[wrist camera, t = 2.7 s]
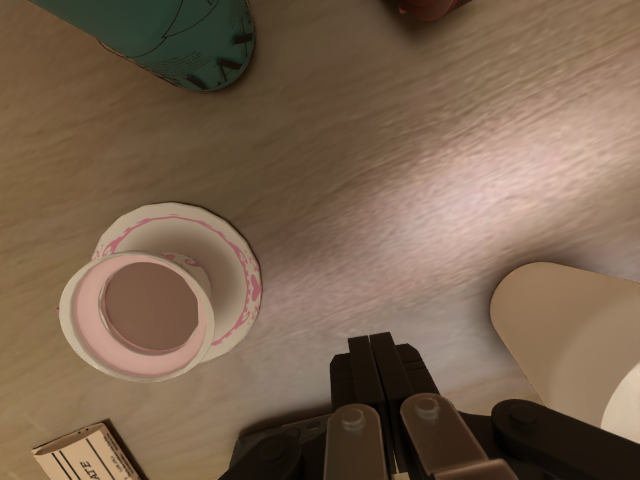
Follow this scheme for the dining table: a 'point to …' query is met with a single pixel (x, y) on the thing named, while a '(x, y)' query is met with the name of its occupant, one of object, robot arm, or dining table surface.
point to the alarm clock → (429, 8)
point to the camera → (299, 430)
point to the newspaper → (85, 457)
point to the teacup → (162, 294)
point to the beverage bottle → (170, 35)
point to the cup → (575, 341)
